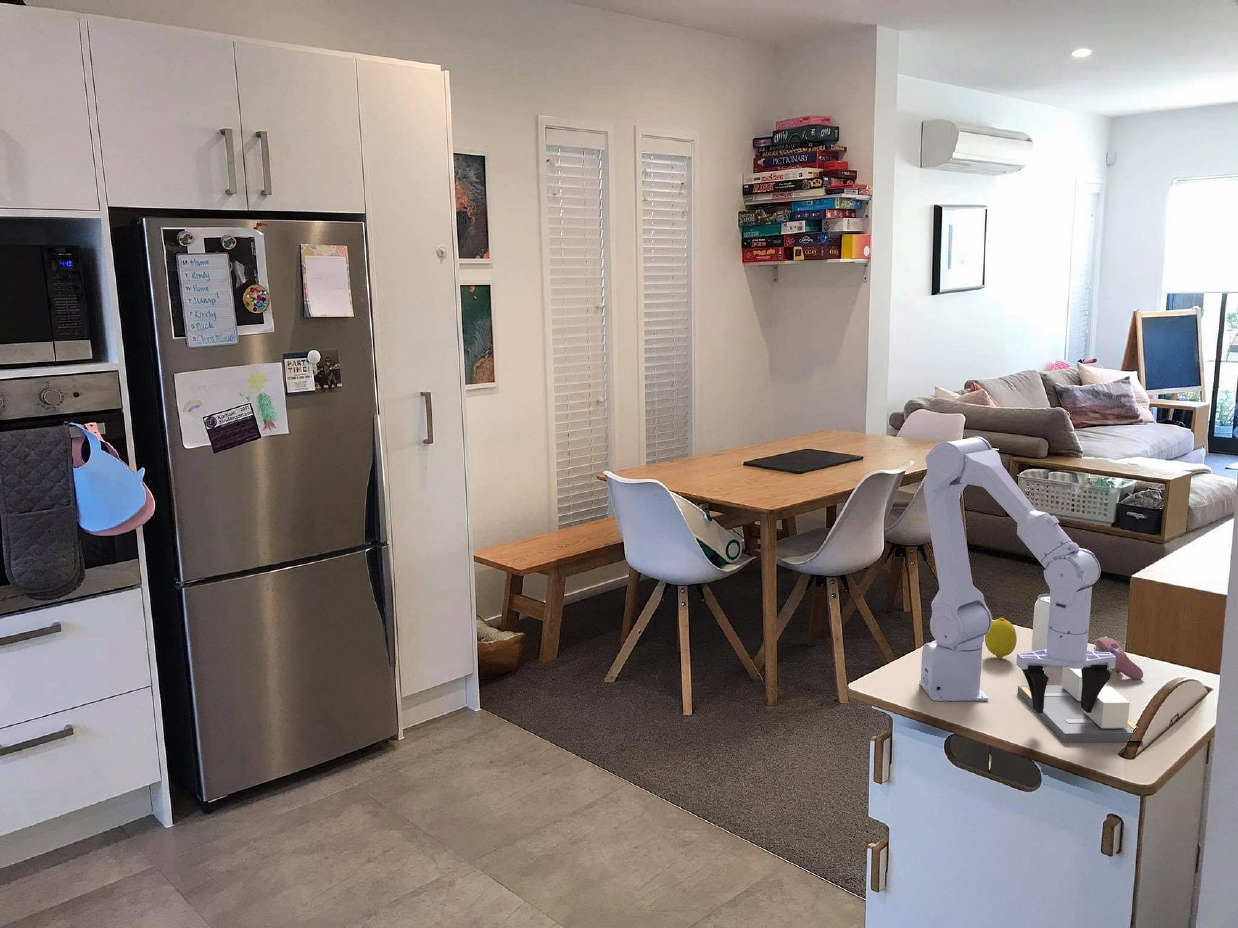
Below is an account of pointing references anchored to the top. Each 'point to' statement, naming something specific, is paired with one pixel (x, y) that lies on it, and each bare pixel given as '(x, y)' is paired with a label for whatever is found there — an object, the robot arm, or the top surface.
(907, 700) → the top surface
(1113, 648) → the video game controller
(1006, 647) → the lemon
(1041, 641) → the can
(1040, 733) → the top surface
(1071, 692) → the switch back
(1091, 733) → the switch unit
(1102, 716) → the switch front
